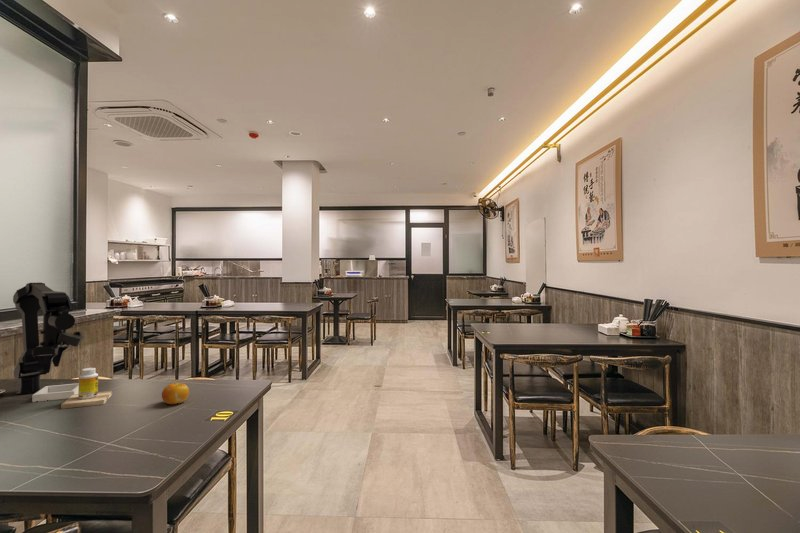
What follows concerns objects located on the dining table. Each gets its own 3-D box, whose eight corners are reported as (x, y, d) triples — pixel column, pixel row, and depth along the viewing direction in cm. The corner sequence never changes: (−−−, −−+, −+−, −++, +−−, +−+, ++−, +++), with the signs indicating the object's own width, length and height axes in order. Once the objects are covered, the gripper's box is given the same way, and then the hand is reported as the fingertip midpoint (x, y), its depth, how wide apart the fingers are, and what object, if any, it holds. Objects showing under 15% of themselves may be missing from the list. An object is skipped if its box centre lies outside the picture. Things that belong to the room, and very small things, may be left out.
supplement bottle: (97, 397, 142) (98, 369, 142) (78, 400, 139) (78, 371, 139) (97, 393, 147) (98, 366, 147) (78, 396, 143) (79, 368, 143)
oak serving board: (73, 398, 146) (73, 394, 146) (112, 394, 151) (112, 390, 151) (61, 408, 135) (61, 404, 135) (103, 404, 140) (103, 400, 140)
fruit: (187, 396, 138) (181, 375, 141) (161, 407, 136) (155, 386, 138) (194, 400, 146) (188, 380, 149) (169, 411, 143) (164, 390, 146)
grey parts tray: (45, 392, 152) (45, 386, 152) (84, 389, 157) (84, 382, 157) (32, 402, 141) (32, 395, 142) (73, 397, 146) (74, 391, 147)
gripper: (73, 330, 138) (71, 374, 138) (88, 322, 155) (86, 361, 155) (31, 331, 133) (30, 377, 133) (51, 323, 150) (50, 364, 150)
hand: (52, 369), depth 143 cm, fingers open, 9 cm apart
